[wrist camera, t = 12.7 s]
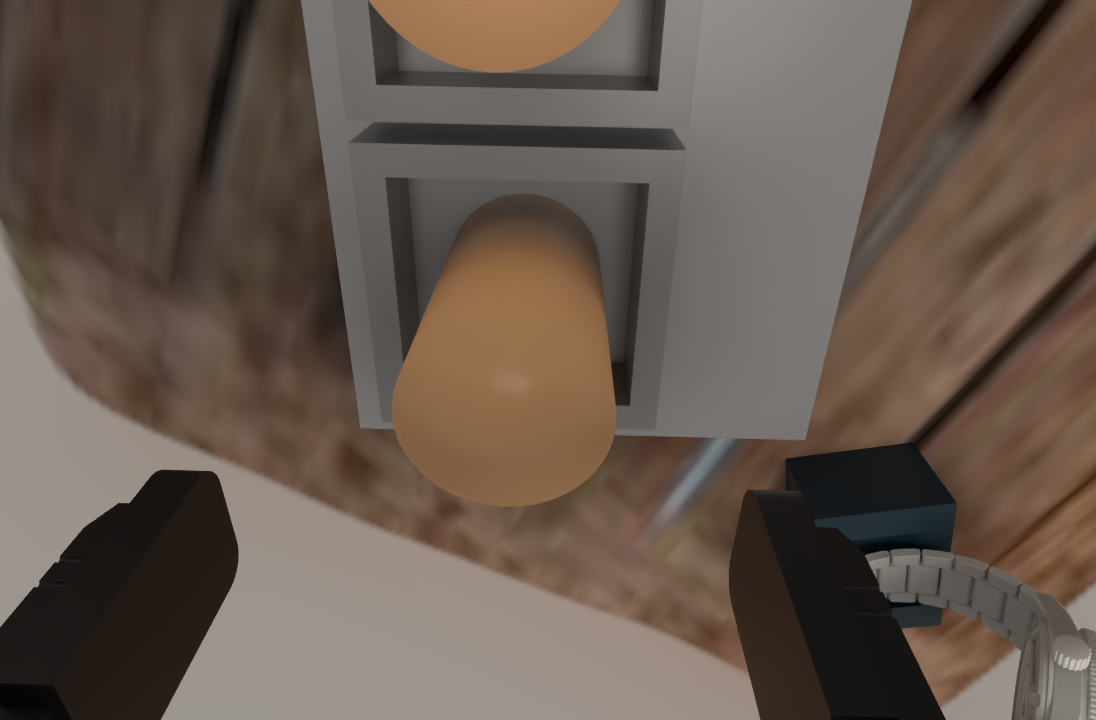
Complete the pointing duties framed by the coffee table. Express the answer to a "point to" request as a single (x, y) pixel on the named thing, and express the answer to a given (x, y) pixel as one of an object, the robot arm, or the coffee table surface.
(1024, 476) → the coffee table surface
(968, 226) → the coffee table surface
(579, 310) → the orange peg
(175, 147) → the coffee table surface
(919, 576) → the watch
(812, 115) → the housing
